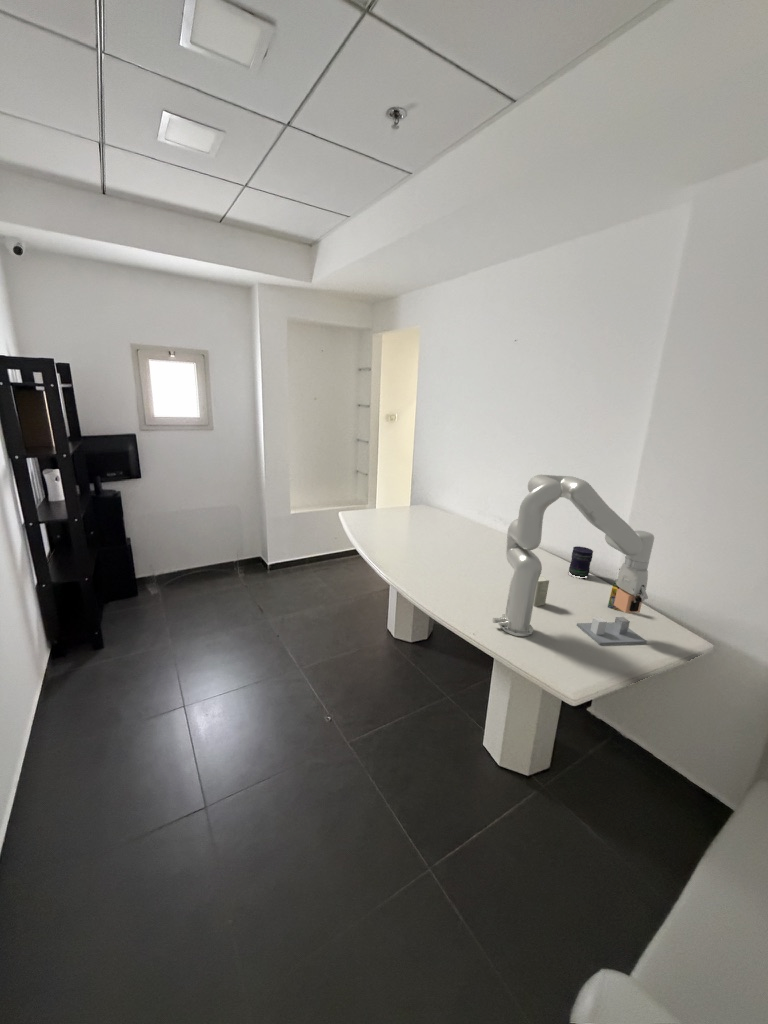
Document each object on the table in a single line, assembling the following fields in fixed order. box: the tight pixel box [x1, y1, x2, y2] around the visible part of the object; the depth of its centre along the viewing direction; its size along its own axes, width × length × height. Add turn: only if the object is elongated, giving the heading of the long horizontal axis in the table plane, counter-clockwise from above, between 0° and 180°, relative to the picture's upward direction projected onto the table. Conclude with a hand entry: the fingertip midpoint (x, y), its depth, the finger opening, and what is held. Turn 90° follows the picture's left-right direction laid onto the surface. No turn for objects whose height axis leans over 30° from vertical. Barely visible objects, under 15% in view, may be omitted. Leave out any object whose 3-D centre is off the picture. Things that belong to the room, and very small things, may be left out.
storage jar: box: [568, 545, 594, 577], centre depth 214 cm, size 10×10×15 cm
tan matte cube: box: [614, 589, 643, 614], centre depth 155 cm, size 6×6×7 cm
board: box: [576, 616, 648, 646], centre depth 157 cm, size 20×14×6 cm
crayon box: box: [607, 581, 623, 612], centre depth 178 cm, size 7×3×12 cm, turn 56°
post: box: [613, 616, 631, 634], centre depth 157 cm, size 3×3×6 cm
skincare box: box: [533, 576, 550, 607], centre depth 178 cm, size 6×4×12 cm
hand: (626, 606), depth 155 cm, fingers closed on tan matte cube, 6 cm apart
